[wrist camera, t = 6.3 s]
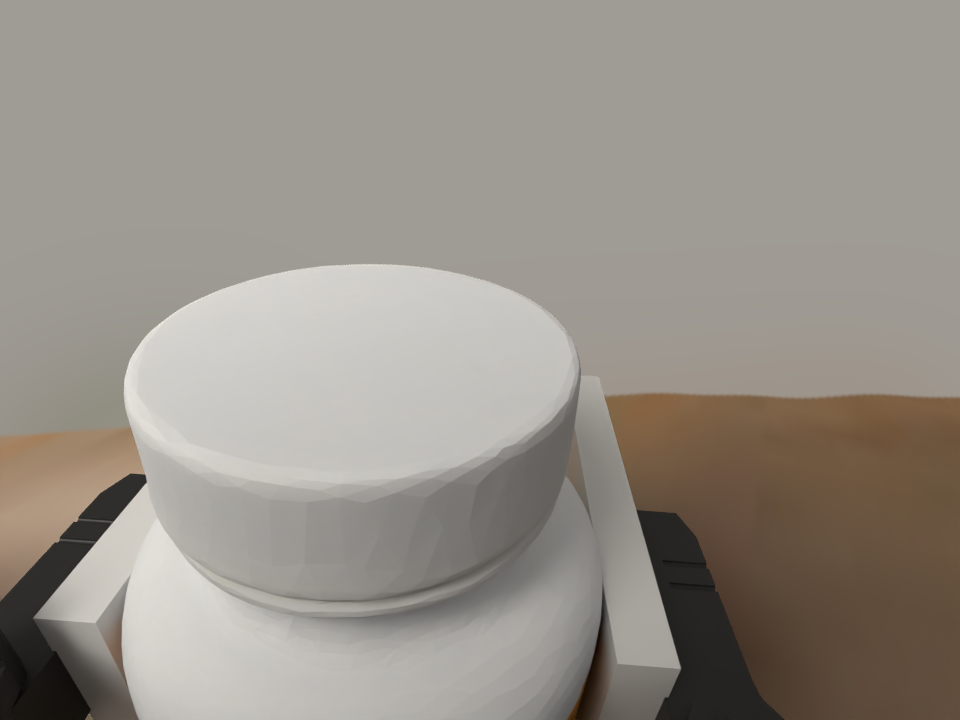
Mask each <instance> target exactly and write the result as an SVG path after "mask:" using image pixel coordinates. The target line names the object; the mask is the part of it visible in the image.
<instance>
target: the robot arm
mask: <svg viewBox="0 0 960 720" xmlns="http://www.w3.org/2000/svg"><path fill="white" fill-rule="evenodd" d="M566 476H567V478H568V479H569V480H570V482H571V483H572V485H573V486H574V488H575V490H576V491H577V493H578V495H579V497H580V498H581V500H582V502H583V504H584V506H585V508H586V511H587V513H588V516H589V518H590V521H591V524H592V527H593V530H594V533H595V536H596V540H597V544H598V549H599V555H600V562H601V570H602V607H601V620H600V625H599V630H598V636H597V641H596V647H595V651H594V655H593V659H592V663H591V667H590V670H589V674H588V677H587V681H586V684H585V687H584V691H583V694H582V697H581V701H580V704H579V708H578V711H577V714H576V720H784V719H783V718H782V717H781V716H780V715H779V714H778V713H777V712H776V711H775V710H774V709H772V708H771V707H770V706H769V705H768V704H767V703H766V702H765V701H764V700H763V699H762V698H761V696H760V695H759V693H758V691H757V689H756V687H755V685H754V683H753V681H752V679H751V676H750V674H749V671H748V668H747V666H746V663H745V661H744V658H743V656H742V653H741V651H740V648H739V645H738V643H737V640H736V638H735V635H734V633H733V630H732V628H731V625H730V622H729V620H728V617H727V615H726V612H725V610H724V607H723V604H722V602H721V599H720V597H719V594H718V592H716V591H715V584H714V581H713V579H712V576H711V574H710V571H709V569H707V568H706V561H705V558H704V556H703V553H702V551H701V548H700V546H699V543H698V540H697V538H696V536H695V535H694V534H693V533H692V532H691V530H690V529H689V528H688V527H687V526H686V525H685V523H684V522H683V521H682V520H681V519H680V518H679V516H678V515H677V514H676V513H665V512H652V511H639V510H636V507H635V504H634V500H633V497H632V493H631V490H630V486H629V483H628V479H627V476H626V472H625V469H624V465H623V461H622V458H621V454H620V451H619V447H618V444H617V440H616V437H615V433H614V430H613V426H612V423H611V419H610V415H609V412H608V408H607V405H606V401H605V398H604V394H603V391H602V387H601V384H600V380H599V377H595V376H582V375H581V382H580V390H579V398H578V405H577V412H576V419H575V426H574V432H573V438H572V444H571V450H570V457H569V463H568V468H567V472H566ZM156 519H157V515H156V513H155V510H154V508H153V505H152V503H151V501H150V496H149V490H148V485H147V479H146V475H142V474H129V475H128V476H126V477H125V478H123V479H122V480H120V481H118V482H117V483H115V484H114V485H112V486H111V487H109V488H108V489H106V490H105V491H103V492H102V493H100V494H99V495H98V496H97V498H96V499H95V500H94V501H93V502H92V503H91V504H90V505H89V506H88V507H87V508H86V509H85V511H84V512H83V513H82V514H81V515H80V516H79V519H78V521H77V522H73V524H72V525H71V526H70V527H69V528H68V529H67V530H66V531H65V532H64V533H63V534H62V535H61V537H60V541H59V542H58V543H54V544H53V545H52V546H51V547H50V548H49V550H48V551H47V552H46V553H45V554H44V555H43V556H42V557H41V558H40V559H39V560H38V561H37V563H36V564H35V565H34V566H33V567H32V568H31V569H30V570H29V571H28V572H27V573H26V574H25V576H24V577H23V578H22V579H21V580H20V581H19V582H18V583H17V584H16V585H15V586H14V587H13V589H12V590H11V591H10V592H9V593H8V594H7V595H6V596H5V597H4V598H3V599H2V600H1V602H0V720H85V718H86V717H87V715H88V714H89V712H90V714H91V715H92V717H93V719H94V720H139V718H138V716H137V713H136V711H135V707H134V704H133V701H132V698H131V695H130V692H129V688H128V684H127V680H126V676H125V672H124V667H123V657H122V646H121V643H122V619H123V612H124V605H125V598H126V591H127V587H128V583H129V580H130V576H131V573H132V570H133V567H134V564H135V561H136V559H137V556H138V554H139V551H140V549H141V546H142V544H143V542H144V540H145V538H146V536H147V534H148V532H149V530H150V529H151V527H152V525H153V523H154V522H155V520H156Z"/></svg>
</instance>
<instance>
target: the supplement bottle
mask: <svg viewBox="0 0 960 720" xmlns="http://www.w3.org/2000/svg"><path fill="white" fill-rule="evenodd" d="M580 382H581V368H580V360H579V355H578V352H577V349H576V346H575V344H574V342H573V340H572V338H571V337H570V335H569V333H568V332H567V331H566V330H565V329H564V328H563V326H562V325H561V324H560V323H559V322H558V320H557V319H556V318H555V317H554V316H552V315H551V314H550V313H549V312H548V311H546V310H545V309H544V308H543V307H541V306H540V305H538V304H537V303H535V302H533V301H532V300H530V299H529V298H527V297H525V296H523V295H521V294H518V293H516V292H514V291H512V290H510V289H507V288H504V287H502V286H499V285H497V284H494V283H492V282H488V281H485V280H482V279H478V278H475V277H471V276H468V275H463V274H457V273H453V272H448V271H444V270H438V269H431V268H425V267H416V266H403V265H389V264H354V265H337V266H336V265H335V266H321V267H313V268H306V269H298V270H291V271H287V272H282V273H277V274H271V275H268V276H264V277H260V278H256V279H252V280H249V281H246V282H243V283H240V284H237V285H234V286H231V287H227V288H225V289H222V290H219V291H217V292H214V293H212V294H210V295H207V296H205V297H203V298H200V299H198V300H196V301H194V302H192V303H190V304H188V305H187V306H185V307H183V308H181V309H180V310H178V311H176V312H175V313H173V314H172V315H171V316H169V317H168V318H167V319H165V320H164V321H163V322H161V323H160V324H159V325H158V326H156V327H155V328H154V329H153V330H152V331H150V333H149V334H148V335H147V336H146V337H145V338H144V339H143V341H142V342H141V343H140V345H139V346H138V348H137V349H136V351H135V352H134V354H133V356H132V357H131V359H130V361H129V365H128V368H127V372H126V376H125V381H124V400H125V407H126V412H127V416H128V419H129V422H130V426H131V429H132V432H133V435H134V438H135V442H136V445H137V448H138V452H139V455H140V458H141V461H142V465H143V468H144V471H145V475H146V479H147V485H148V490H149V496H150V501H151V503H152V505H153V508H154V510H155V513H156V515H157V519H156V520H155V522H154V523H153V525H152V527H151V529H150V530H149V532H148V534H147V536H146V538H145V540H144V542H143V544H142V546H141V549H140V551H139V554H138V556H137V559H136V561H135V564H134V567H133V570H132V573H131V576H130V580H129V583H128V587H127V591H126V598H125V605H124V612H123V619H122V643H121V646H122V657H123V667H124V672H125V676H126V680H127V684H128V688H129V692H130V695H131V698H132V701H133V704H134V707H135V711H136V713H137V716H138V718H139V720H575V718H576V714H577V711H578V708H579V704H580V701H581V697H582V694H583V691H584V687H585V684H586V681H587V677H588V674H589V670H590V667H591V663H592V659H593V655H594V651H595V647H596V641H597V636H598V630H599V625H600V620H601V607H602V570H601V562H600V555H599V549H598V544H597V540H596V536H595V533H594V530H593V527H592V524H591V521H590V518H589V516H588V513H587V511H586V508H585V506H584V504H583V502H582V500H581V498H580V497H579V495H578V493H577V491H576V490H575V488H574V486H573V485H572V483H571V482H570V480H569V479H568V478H567V476H566V472H567V468H568V463H569V457H570V450H571V444H572V438H573V432H574V426H575V419H576V412H577V405H578V398H579V390H580Z"/></svg>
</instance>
